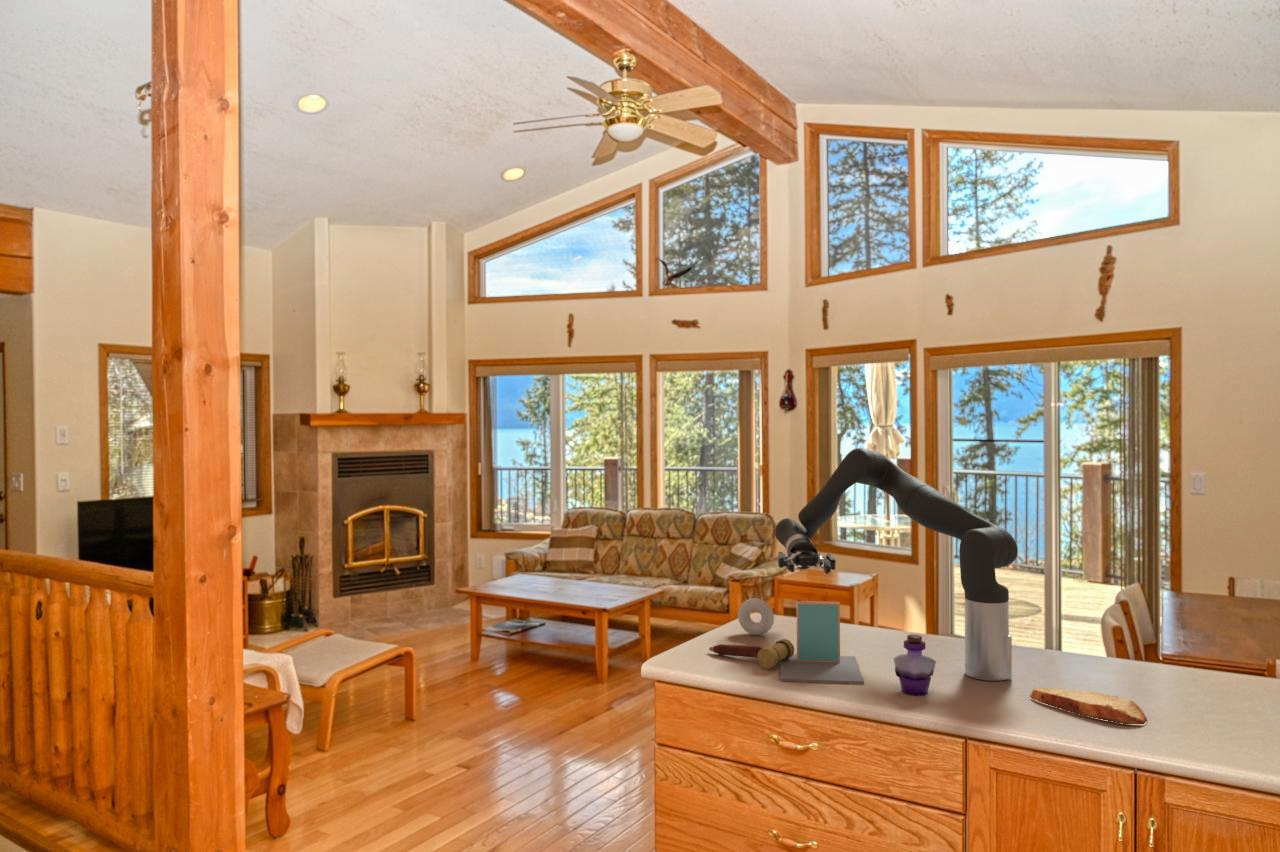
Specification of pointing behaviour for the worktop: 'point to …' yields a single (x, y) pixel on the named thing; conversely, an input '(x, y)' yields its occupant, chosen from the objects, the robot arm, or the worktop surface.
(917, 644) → the potion bottle
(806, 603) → the tile
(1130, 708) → the slice of bread
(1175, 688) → the worktop surface
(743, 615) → the donut
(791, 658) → the mat
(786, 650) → the gavel
